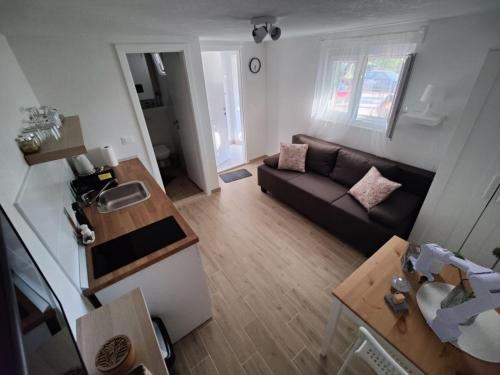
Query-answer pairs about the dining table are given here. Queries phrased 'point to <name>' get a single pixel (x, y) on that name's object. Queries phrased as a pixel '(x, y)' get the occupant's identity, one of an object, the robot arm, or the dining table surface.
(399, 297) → the wedge
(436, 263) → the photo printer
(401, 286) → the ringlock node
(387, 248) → the dining table surface
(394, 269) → the dining table surface
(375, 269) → the dining table surface
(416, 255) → the coffee box
